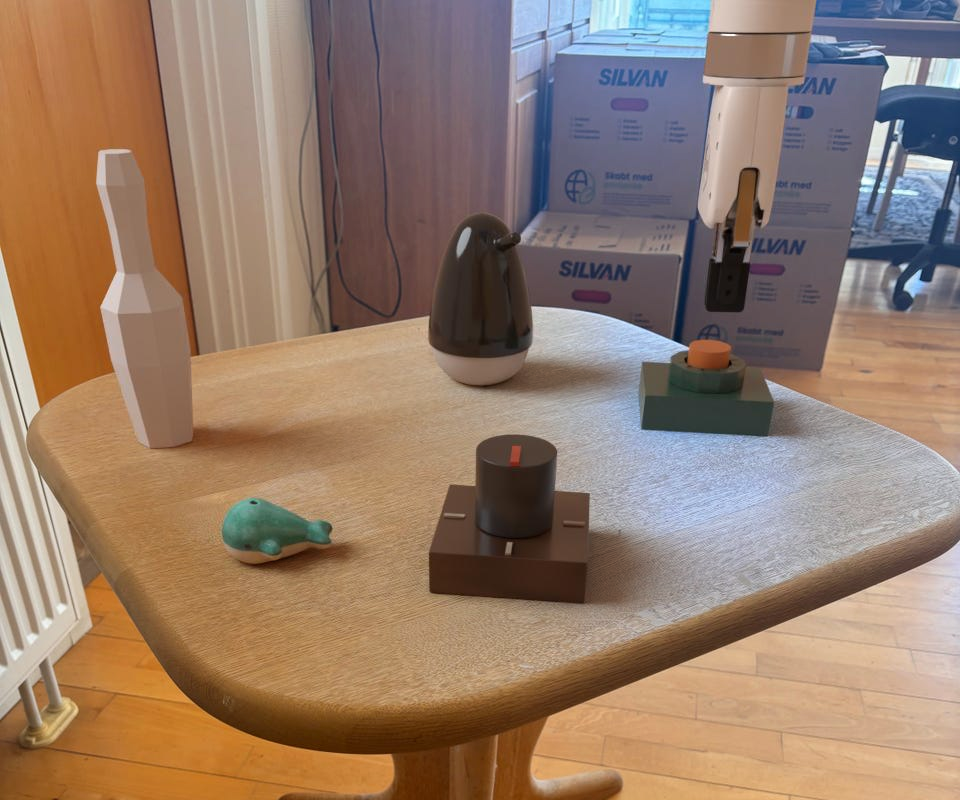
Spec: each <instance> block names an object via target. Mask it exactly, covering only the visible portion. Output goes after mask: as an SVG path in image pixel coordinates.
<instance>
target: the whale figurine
mask: <svg viewBox="0 0 960 800" xmlns="http://www.w3.org/2000/svg"><path fill="white" fill-rule="evenodd" d="M332 532H333V526H332V524H331V523H330V522H328V521H326V520H321V519H316V520H312V521H310V520H307V519H305V518H304V517H302V516H300V515H298V514H296V513H294V512H292V511H291V510H288V509H286V508H284V507H281V506H279V505H277V504H274V503H272V502H271V501H269V500H266V499H263V498H259V497H249V498H245V499H242V500H240V501H238V502H237V503H235V504H234V505H232V507H230V508H229V510H228V511H227V513H226V514H225V516H224V518H223V521H222V525H221V536H222V543H223V546H224V548H225V550H226V552H227V553H228V555H230V556H231V557H232V558H234V559H235V560H237V561H239V562H242V563H246V564H253V565H255V564H264V563H268V562H271V561H272V562H273V561H277V560H280V559H283V558H287V557H289V556H293V555H296V554H298V553H301V552H304V551H305V550H307V549H310V548H314V549H318V550H322V549H323V550H324V549H327V548H329V547H330V546H331V545H332V540H331V537H330V535H331V534H332Z"/></svg>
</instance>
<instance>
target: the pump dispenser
mask: <svg viewBox="0 0 960 800" xmlns="http://www.w3.org/2000/svg"><path fill="white" fill-rule="evenodd" d="M521 242H522V236H521V234H520V233H519V232H518V231H513V232H511V230H510V228H509V227H508V225H507V223H505V221H503V220H502V219H501V218H500V217H498V216H496V215H495V214H492V213H489V212H475V213H472V214H470V215H467V216H465V217H464V218H463V219H462V220H460V221H459V223H458V224H457V225H456V227H455V228H454V230H453V232H452V233H451V235H450V237H449V239H448V241H447V243H446V246H445V248H444V251H443V254H442V256H441V260H440V264H439V266H438V271H437V274H436V278H435V281H434V286H433V291H432V297H431V302H430V310H429V317H428V325H427V326H428V327H427V340H428V344H429V346H431V349H432V352H433V357H434V359H435V361H436V363H437V365H438V366H439V367H440V369H441V370H442V372H443V373H445V375H447V376H448V377H450V378H451V379H453V380H454V381H457V382H459V383H462V384H465V385H470V386H491V385H496V384H501V383H502V382H505V381H507V380H509V379H511V378H512V377H513V376H514V375H515V374H517V373H518V372H519V371H520V369H521V368H522V366H523V365H524V363H525V361H526V359H527V356H528V354H529V349H530V348H531V347H532V346H533V343H534V320H533V319H534V318H533V309H532V300H531V295H530V289H529V288H530V287H529V284H528V279H527V274H526V271H525V267H524V263H523V260H522V259H523V258H522V256H521V253H520V250H519V247H518V245H519V244H520V243H521Z"/></svg>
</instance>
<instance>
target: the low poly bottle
mask: <svg viewBox="0 0 960 800" xmlns="http://www.w3.org/2000/svg"><path fill="white" fill-rule="evenodd" d="M95 179H96V180H95V181H96V182H95V184H96V188H97V190H98V195H99V198H100V201H101V202H100V203H101V206H102V209H103V213H104V216H105V220H106V223H107V227H108V233H109V237H110V243H111V249H112V252H113V258H114V263H115V269H116V273H115V274H114V276H113V279H112V281H111V283H110V285H109V287H108V289H107V292H106V294H105V296H104V299H103V300H102V303H101V305H100V307H99V308H100V312H101V317H102V322H103V328H104V332H105V337H106V341H107V347H108V352H109V357H110V361H111V365H112V367H113V370H114V373H115V376H116V379H117V382H118V386H119V389H120V391H121V394H122V397H123V401H124V403H125V406H126V410H127V412H128V415H129V417H130V418H129V419H130V421H131V424H132V427H133V430H134V434H135V436H136V439H137V442H138V443H139V444H141V445H143V446H145V447H147V448H149V449H162V448H174V447H177V446H180V445H181V446H182V445H185V444H186V443H190V442H192V441H193V438H194V437H193V436H194V414H193V413H194V407H193V384H192V383H193V381H192V354H191V353H192V351H191V344H190V337H189V331H188V325H187V319H186V312H185V305H184V298H183V296H181V294H180V293H179V292H178V290H176V289H175V287H174V286H173V285H172V284H171V283H170V282H169V281H168V280H167V278H165V276H164V275H163V274H162V273H161V272H160V271H159V270H158V268H157V267H156V264H155V259H154V253H153V247H152V246H153V245H152V241H151V240H152V239H151V235H150V229H149V222H148V209H147V198H146V197H147V196H146V186H145V185H146V184H145V183H146V182H145V179H144V177H143V174H142V172H141V169H140V167H139V165H138V162H137V160H136V158H135V156H134V153H133V151H132V150H131V149H125V148H110V149H101V150H99V151H98V153H97V167H96V178H95Z"/></svg>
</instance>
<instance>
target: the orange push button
mask: <svg viewBox="0 0 960 800" xmlns="http://www.w3.org/2000/svg"><path fill="white" fill-rule="evenodd" d="M688 350H689V353H688V360H687V364H689V365H691V366H694V367H698V368H702V369H723V368H728V364H729V358H730V354H731V351H732V347H731V345H730V344H728V343H727V342H724V341H720V340H716V339H715V340H714V339H698V340H693V341H692V342H690V343H689V346H688Z"/></svg>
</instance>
